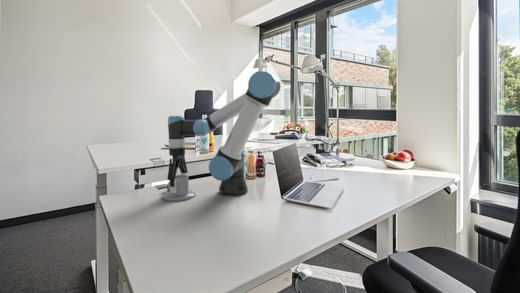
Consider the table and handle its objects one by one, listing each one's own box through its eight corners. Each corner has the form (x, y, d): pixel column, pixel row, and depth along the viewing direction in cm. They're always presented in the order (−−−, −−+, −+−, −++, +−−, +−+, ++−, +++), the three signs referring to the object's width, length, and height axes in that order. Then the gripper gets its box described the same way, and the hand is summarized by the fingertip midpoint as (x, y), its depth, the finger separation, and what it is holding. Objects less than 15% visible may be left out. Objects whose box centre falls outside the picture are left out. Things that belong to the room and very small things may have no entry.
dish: (199, 192, 150) (199, 189, 150) (189, 201, 134) (188, 199, 134) (170, 191, 151) (169, 189, 151) (156, 200, 135) (156, 198, 135)
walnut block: (176, 190, 154) (175, 183, 153) (175, 192, 150) (174, 185, 149) (168, 190, 153) (168, 183, 152) (167, 192, 149) (167, 185, 148)
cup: (189, 194, 140) (189, 177, 139) (168, 197, 137) (167, 179, 136) (188, 191, 147) (187, 174, 146) (167, 193, 143) (167, 176, 142)
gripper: (179, 144, 152) (180, 182, 155) (158, 150, 127) (160, 196, 130) (192, 144, 151) (193, 182, 154) (174, 150, 127) (176, 196, 130)
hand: (178, 189), depth 142 cm, fingers open, 13 cm apart
